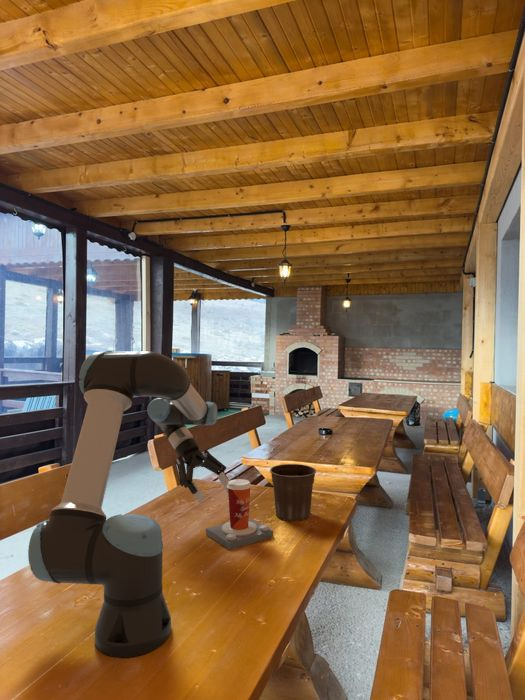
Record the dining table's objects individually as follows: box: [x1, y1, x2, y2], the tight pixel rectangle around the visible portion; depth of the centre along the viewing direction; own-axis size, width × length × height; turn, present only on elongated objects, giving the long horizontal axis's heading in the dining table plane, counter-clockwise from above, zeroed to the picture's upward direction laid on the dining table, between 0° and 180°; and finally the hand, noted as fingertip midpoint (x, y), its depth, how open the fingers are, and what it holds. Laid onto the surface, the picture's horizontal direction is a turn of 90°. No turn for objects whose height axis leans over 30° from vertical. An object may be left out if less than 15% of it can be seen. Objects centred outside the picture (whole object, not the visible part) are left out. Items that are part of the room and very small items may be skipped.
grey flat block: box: [205, 517, 274, 551], centre depth 147 cm, size 16×14×3 cm
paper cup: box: [227, 478, 252, 530], centre depth 147 cm, size 8×8×14 cm
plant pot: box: [269, 463, 317, 522], centre depth 165 cm, size 16×16×16 cm
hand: (217, 495), depth 153 cm, fingers open, 13 cm apart
